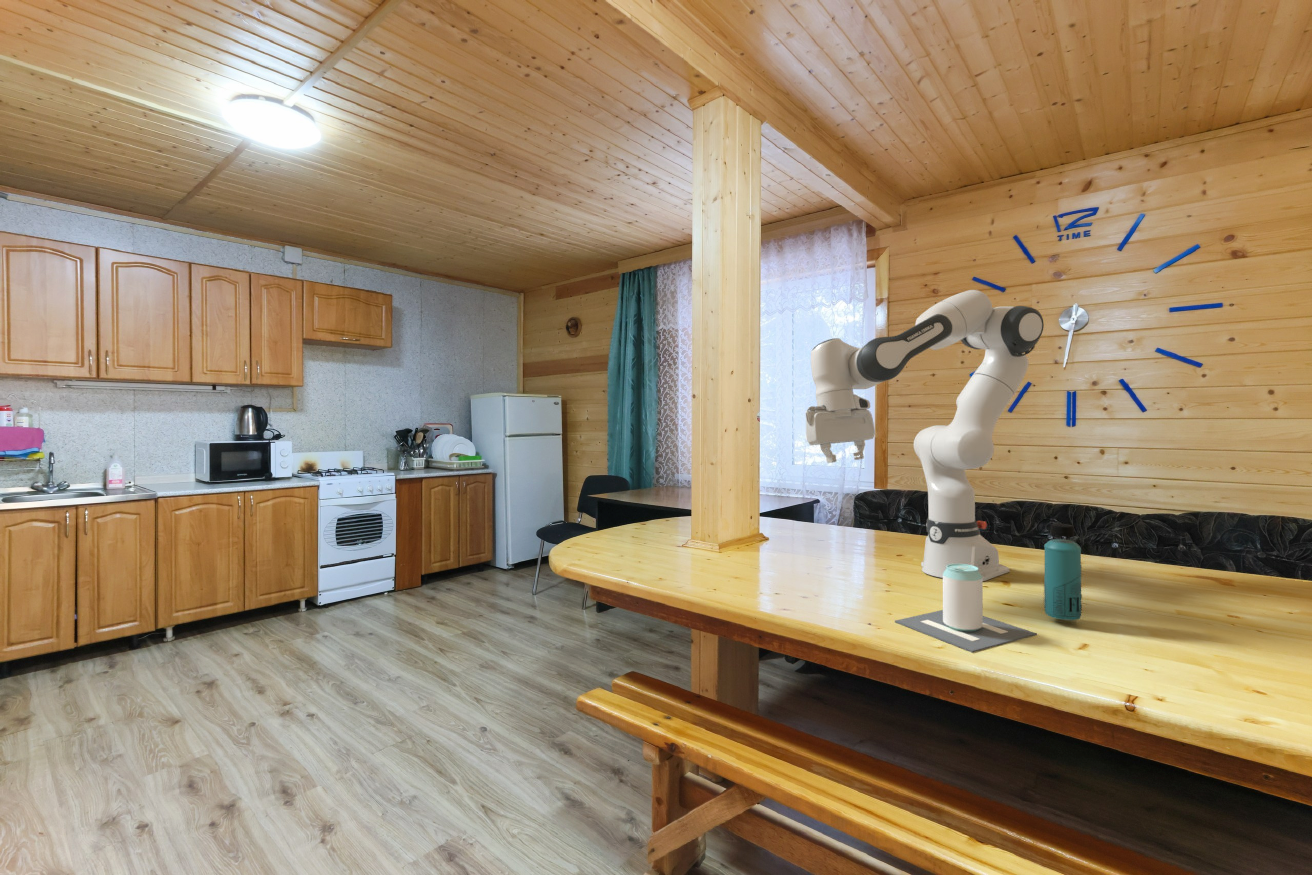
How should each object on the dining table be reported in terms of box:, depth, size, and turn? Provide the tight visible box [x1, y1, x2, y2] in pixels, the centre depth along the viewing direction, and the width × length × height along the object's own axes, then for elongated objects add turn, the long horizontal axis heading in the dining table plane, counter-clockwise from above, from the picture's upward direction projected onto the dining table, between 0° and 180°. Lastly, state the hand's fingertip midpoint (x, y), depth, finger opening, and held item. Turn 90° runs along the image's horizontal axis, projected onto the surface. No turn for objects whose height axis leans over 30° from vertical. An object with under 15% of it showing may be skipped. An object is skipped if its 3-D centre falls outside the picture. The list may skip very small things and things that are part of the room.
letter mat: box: [894, 609, 1038, 653], centre depth 121 cm, size 18×18×1 cm
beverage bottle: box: [1043, 523, 1083, 621], centre depth 123 cm, size 6×7×20 cm
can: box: [942, 564, 984, 632], centre depth 121 cm, size 7×7×12 cm
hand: (845, 461), depth 147 cm, fingers open, 8 cm apart
